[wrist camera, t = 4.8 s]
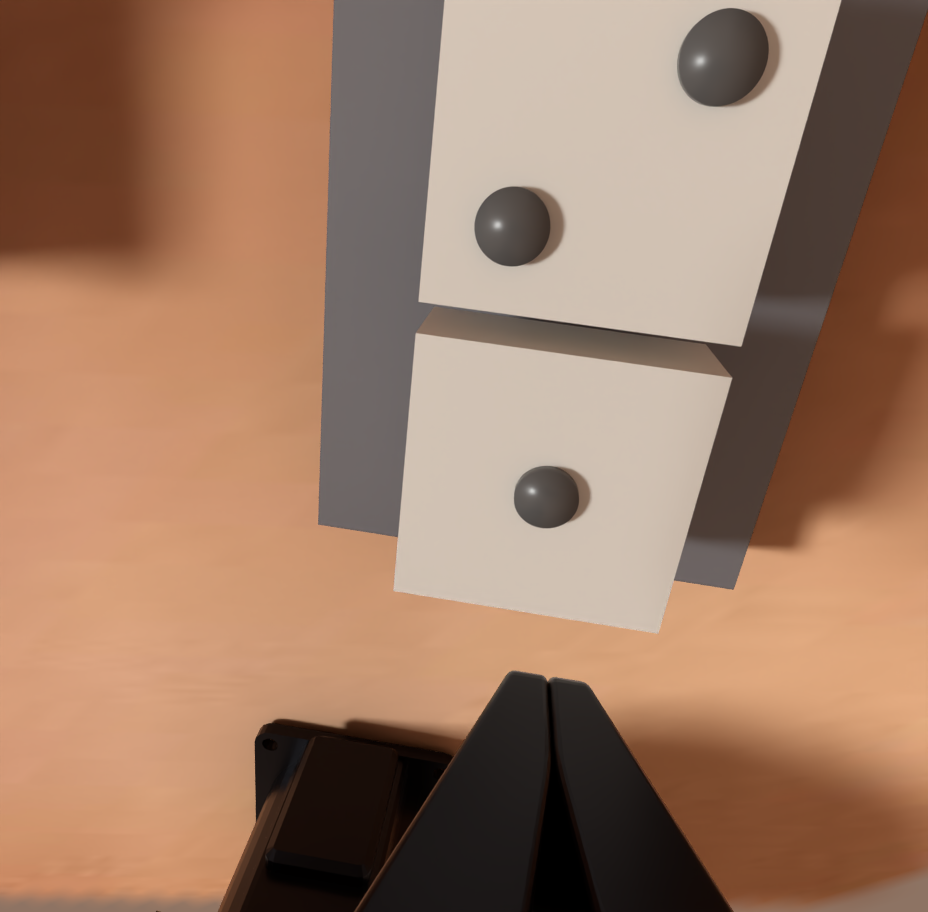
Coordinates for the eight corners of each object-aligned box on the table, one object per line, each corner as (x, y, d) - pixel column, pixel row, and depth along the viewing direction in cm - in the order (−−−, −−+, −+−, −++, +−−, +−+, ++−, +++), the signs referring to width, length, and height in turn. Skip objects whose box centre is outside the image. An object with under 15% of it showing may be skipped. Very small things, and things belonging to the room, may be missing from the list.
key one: (644, 573, 15) (659, 640, 13) (411, 536, 15) (391, 597, 13) (706, 344, 13) (734, 382, 11) (434, 306, 13) (413, 336, 11)
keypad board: (714, 545, 18) (733, 589, 16) (340, 487, 19) (318, 524, 17) (1025, -452, 11) (1122, -573, 9) (384, -502, 11) (352, -626, 9)
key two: (713, 317, 12) (745, 350, 10) (436, 279, 13) (415, 304, 11) (801, -15, 10) (862, -54, 8) (468, -52, 11) (451, -97, 9)
